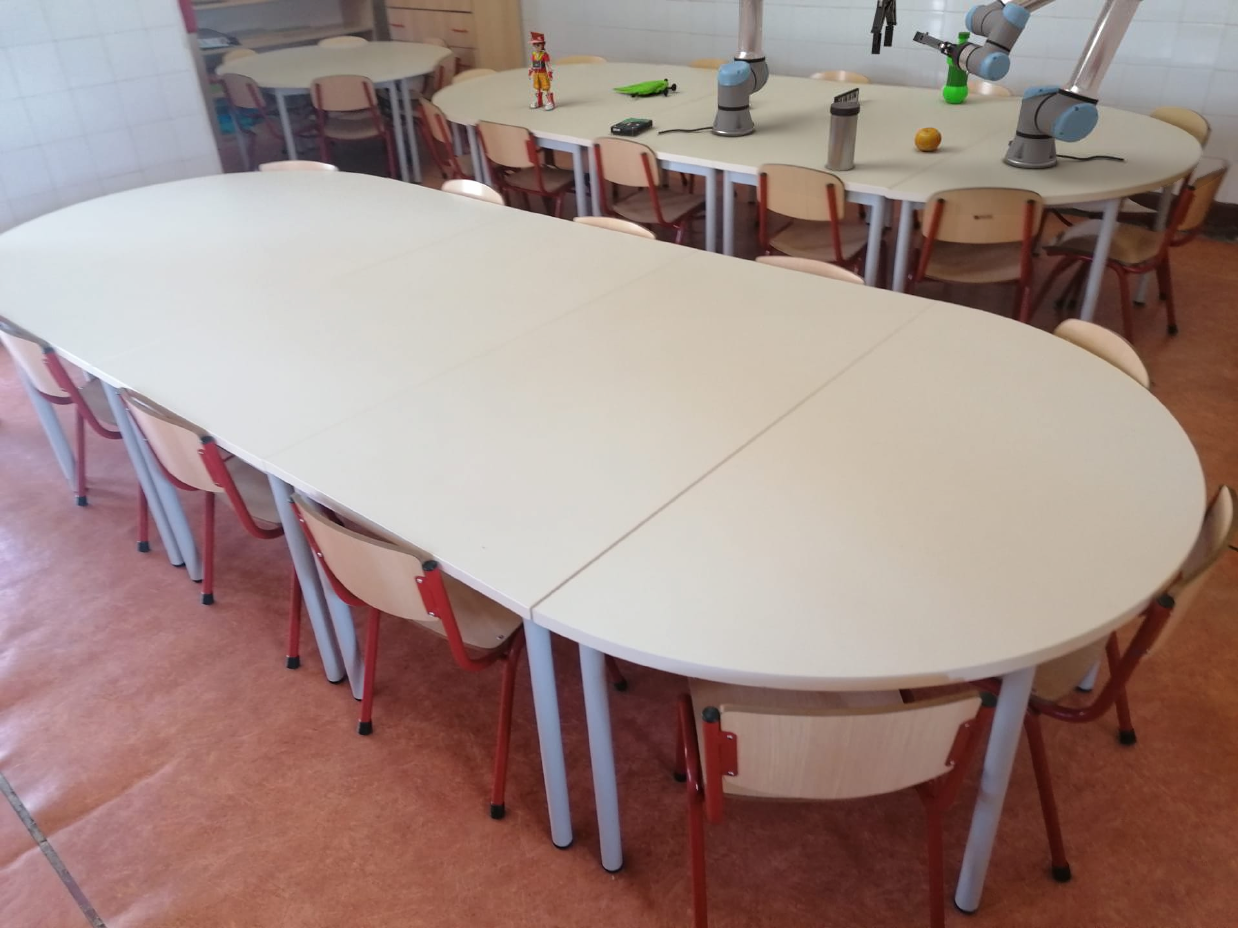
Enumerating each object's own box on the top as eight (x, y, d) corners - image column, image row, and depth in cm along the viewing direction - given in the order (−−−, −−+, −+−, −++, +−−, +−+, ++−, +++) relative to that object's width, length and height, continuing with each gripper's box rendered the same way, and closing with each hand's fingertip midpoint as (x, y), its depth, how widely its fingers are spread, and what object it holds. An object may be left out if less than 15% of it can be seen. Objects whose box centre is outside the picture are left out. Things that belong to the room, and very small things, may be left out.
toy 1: (525, 109, 381) (517, 32, 364) (534, 104, 388) (527, 28, 371) (550, 110, 377) (543, 32, 360) (559, 105, 384) (553, 28, 367)
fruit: (909, 141, 301) (924, 120, 298) (910, 144, 309) (925, 123, 306) (930, 155, 300) (945, 134, 297) (930, 158, 308) (946, 137, 305)
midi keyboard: (835, 110, 353) (837, 97, 350) (833, 110, 354) (834, 97, 351) (858, 101, 363) (859, 88, 361) (855, 101, 364) (856, 88, 361)
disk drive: (633, 137, 337) (653, 126, 347) (633, 129, 336) (652, 119, 346) (610, 134, 342) (630, 124, 352) (609, 127, 340) (630, 117, 350)
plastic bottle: (973, 101, 354) (984, 32, 339) (955, 106, 349) (966, 36, 335) (952, 97, 361) (962, 29, 346) (934, 102, 356) (944, 33, 342)
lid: (865, 111, 285) (866, 104, 283) (848, 117, 280) (849, 110, 278) (840, 107, 290) (841, 100, 289) (824, 113, 285) (824, 106, 284)
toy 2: (686, 85, 398) (631, 84, 414) (685, 72, 395) (629, 72, 411) (651, 104, 381) (596, 103, 397) (650, 92, 378) (594, 91, 394)
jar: (858, 166, 295) (864, 105, 284) (843, 172, 290) (848, 111, 279) (836, 161, 300) (841, 102, 289) (821, 167, 295) (826, 107, 284)
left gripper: (889, -14, 286) (881, 58, 298) (910, -24, 303) (902, 44, 315) (865, -14, 289) (859, 57, 301) (888, -25, 306) (881, 43, 318)
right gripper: (930, 55, 259) (895, 42, 276) (994, 84, 269) (956, 70, 286) (943, 29, 256) (907, 16, 272) (1008, 59, 265) (969, 45, 282)
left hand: (881, 50), depth 308 cm, fingers open, 13 cm apart
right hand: (932, 44), depth 279 cm, fingers open, 13 cm apart
